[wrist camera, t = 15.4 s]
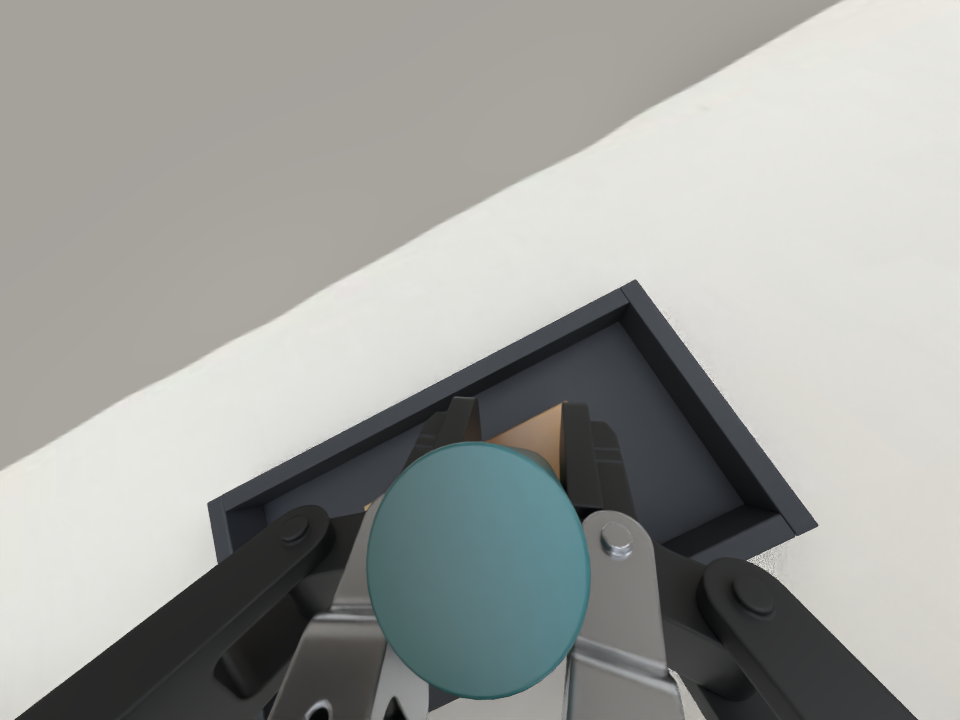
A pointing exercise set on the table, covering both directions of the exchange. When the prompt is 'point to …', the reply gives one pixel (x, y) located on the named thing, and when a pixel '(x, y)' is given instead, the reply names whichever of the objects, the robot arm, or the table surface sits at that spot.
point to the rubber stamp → (481, 563)
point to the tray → (611, 398)
